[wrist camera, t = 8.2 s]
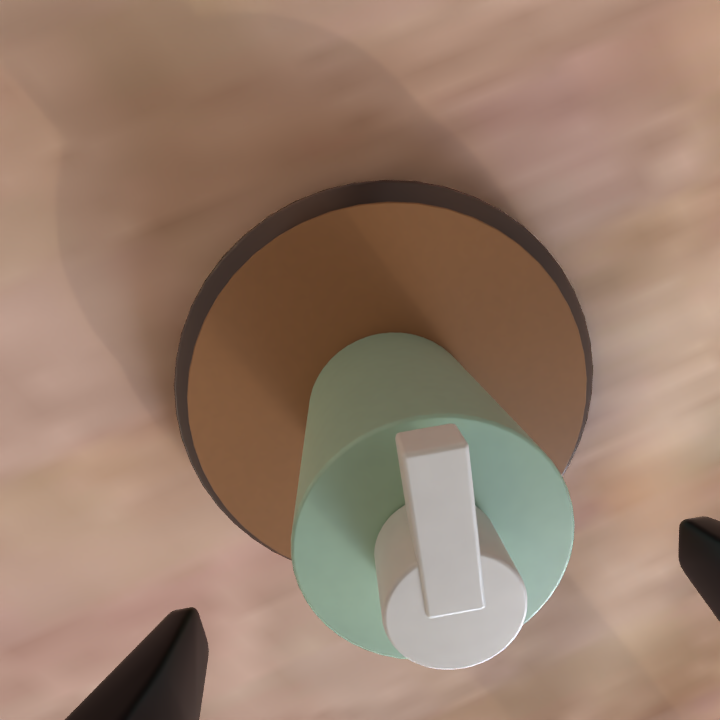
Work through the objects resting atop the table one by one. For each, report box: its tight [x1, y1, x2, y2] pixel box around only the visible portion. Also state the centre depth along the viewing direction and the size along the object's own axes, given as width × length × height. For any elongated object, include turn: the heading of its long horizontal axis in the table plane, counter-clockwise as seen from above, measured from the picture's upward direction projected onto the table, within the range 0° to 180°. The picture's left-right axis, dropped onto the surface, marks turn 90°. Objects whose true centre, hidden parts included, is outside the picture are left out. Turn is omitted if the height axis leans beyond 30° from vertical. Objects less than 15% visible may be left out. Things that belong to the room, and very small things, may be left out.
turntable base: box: [174, 180, 593, 560], centre depth 17 cm, size 15×15×1 cm
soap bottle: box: [187, 202, 587, 670], centre depth 12 cm, size 14×14×10 cm
